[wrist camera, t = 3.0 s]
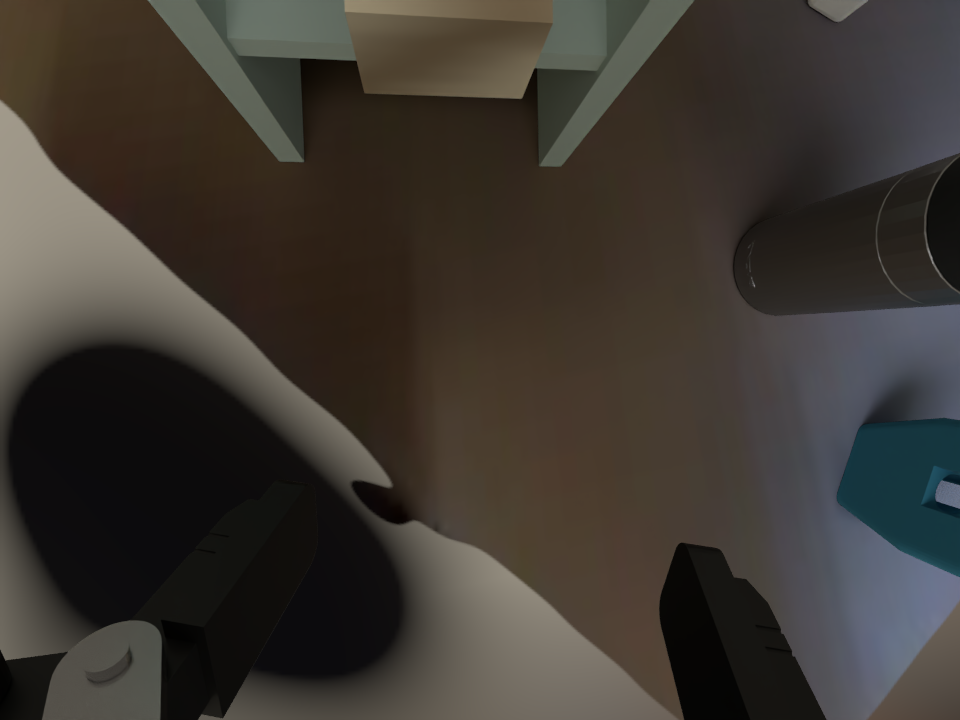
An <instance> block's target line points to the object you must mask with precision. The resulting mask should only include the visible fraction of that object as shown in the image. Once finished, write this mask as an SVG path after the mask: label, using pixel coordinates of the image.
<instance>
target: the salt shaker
mask: <svg viewBox="0 0 960 720" xmlns="http://www.w3.org/2000/svg"><path fill="white" fill-rule="evenodd" d="M867 1H869V0H808V4H809V6H810V7H812V8H813V9H815V10H816V11H818V12H820V13H821V14H823V15H825V16H826V17H828V18H829V19H831V20H833V21H834V22H840V21H842V20H843V19H845V18H846V17H847V16H849V15H850V14H851V13H853V12H854V11H855V10H857V9H858V8H859V7H861V6H862V5H863V4H865V3H866V2H867Z"/></svg>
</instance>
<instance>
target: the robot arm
mask: <svg viewBox="0 0 960 720" xmlns="http://www.w3.org/2000/svg"><path fill="white" fill-rule="evenodd" d="M734 272H735V279H736V282H737V286H738V288H739V290H740V292H741V294H742V296H743V297H744V298H745V299H746V301H747V302H748V303H749V304H750V305H751V306H753V307H754V308H755V309H757V310H759V311H761V312H763V313H765V314H770V315H774V316H777V315H797V314H817V313H833V312H849V311H865V310H881V309H897V308H913V307H929V306H941V305H957V304H960V153H959V154H956V155H953V156H950V157H947V158H944V159H942V160H939V161H936V162H933V163H930V164H927V165H924V166H921V167H919V168H916V169H913V170H910V171H907V172H904V173H901V174H899V175H896V176H893V177H890V178H887V179H884V180H881V181H878V182H875V183H872V184H869V185H866V186H863V187H861V188H858V189H855V190H852V191H849V192H846V193H843V194H840V195H837V196H834V197H831V198H828V199H825V200H823V201H820V202H817V203H814V204H811V205H808V206H805V207H802V208H799V209H796V210H793V211H790V212H787V213H784V214H781V215H778V216H776V217H773V218H770V219H767V220H765V221H762V222H760V223H758V224H757V225H755V226H754V227H753V228H751V229H750V230H749V231H748V232H747V234H746V235H745V236H744V237H743V239H742V241H741V242H740V244H739V246H738V249H737V252H736V255H735V263H734ZM317 542H318V528H317V513H316V498H315V489H314V486H313V485H311V484H306V483H300V482H293V481H287V480H277V481H275V482H274V483H273V485H272V486H271V487H270V488H269V489H268V490H267V492H266V493H265V494H264V495H263V496H262V498H261V499H260V500H259V501H258V500H251V499H249V500H247V501H245V502H244V503H242V504H241V505H239V506H238V507H236V508H234V509H233V510H231V511H229V512H228V513H227V514H225V515H224V516H223V518H222V519H221V520H220V521H219V522H218V523H217V524H216V525H215V527H214V528H213V529H212V530H211V531H210V532H209V535H208V537H205V538H204V539H203V540H202V541H201V542H200V543H199V544H198V546H197V547H196V548H195V551H194V553H190V555H189V556H188V557H187V558H186V559H185V560H184V561H183V562H182V564H181V565H180V566H179V567H178V568H177V569H176V570H175V571H174V573H173V574H172V575H171V576H170V577H169V578H168V579H167V580H166V582H165V583H164V584H163V585H162V586H161V587H160V588H159V589H158V591H157V592H156V593H155V594H154V595H153V596H152V597H151V598H150V600H149V601H148V602H147V603H146V604H145V605H144V606H143V607H142V608H141V610H140V611H139V612H138V613H137V614H136V615H135V616H134V617H133V618H132V619H131V620H130V621H125V622H120V623H116V624H112V625H110V626H107V627H105V628H103V629H100V630H98V631H97V632H94V633H93V634H91V635H90V636H88V637H86V638H85V639H83V640H82V641H81V642H79V643H78V644H77V645H75V646H74V647H73V648H72V649H71V650H70V651H69V652H65V653H58V654H50V655H43V656H35V657H28V658H21V659H13V660H6V661H5V659H4V657H3V654H2V653H1V650H0V720H198V719H199V717H200V716H201V714H204V715H209V716H214V717H219V718H223V717H224V716H225V714H226V712H227V710H228V709H229V707H230V705H231V703H232V702H233V700H234V698H235V696H236V695H237V693H238V691H239V689H240V688H241V686H242V684H243V682H244V680H245V679H246V677H247V675H248V674H249V672H250V670H251V668H252V667H253V665H254V663H255V661H256V660H257V658H258V656H259V654H260V652H261V651H262V649H263V647H264V646H265V644H266V642H267V640H268V639H269V637H270V635H271V633H272V632H273V630H274V628H275V626H276V625H277V623H278V621H279V619H280V618H281V616H282V614H283V612H284V611H285V609H286V607H287V605H288V604H289V602H290V600H291V598H292V597H293V595H294V593H295V591H296V589H297V588H298V586H299V584H300V583H301V581H302V579H303V577H304V576H305V574H306V572H307V570H308V568H309V567H310V565H311V563H312V561H313V558H314V555H315V552H316V548H317ZM659 614H660V624H661V628H662V632H663V636H664V640H665V644H666V648H667V652H668V656H669V660H670V664H671V668H672V672H673V676H674V680H675V685H676V689H677V693H678V697H679V701H680V705H681V709H682V713H683V717H684V720H826V718H825V716H824V714H823V712H822V710H821V708H820V706H819V704H818V702H817V700H816V698H815V696H814V694H813V692H812V690H811V688H810V686H809V684H808V682H807V680H806V678H805V676H804V674H803V672H802V670H801V668H800V666H799V664H798V662H797V660H796V658H795V657H793V656H792V650H791V648H790V646H789V644H788V642H787V640H786V638H785V636H784V634H781V628H780V626H779V624H778V622H777V620H776V618H775V616H774V614H773V612H772V610H771V608H770V606H769V604H768V603H767V601H766V600H765V599H764V598H763V597H762V596H761V595H760V594H759V593H758V592H757V591H756V589H755V588H754V587H753V586H752V585H751V584H750V583H749V582H748V581H747V580H746V579H741V578H734V577H733V575H732V572H731V570H730V568H729V566H728V564H727V561H726V559H725V557H724V555H723V553H722V552H721V550H719V549H718V548H713V547H706V546H700V545H693V544H687V543H680V544H679V545H678V546H677V548H676V550H675V553H674V556H673V559H672V562H671V565H670V568H669V571H668V574H667V577H666V580H665V583H664V586H663V589H662V592H661V597H660V605H659Z"/></svg>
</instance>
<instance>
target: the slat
mask: <svg viewBox="0 0 960 720" xmlns="http://www.w3.org/2000/svg"><path fill="white" fill-rule="evenodd" d="M344 4H345V15H346V19H347V23H348V27H349V31H350V36H351V40H352V44H353V48H354V52H355V56H356V60H357V65H358V69H359V73H360V77H361V81H362V85H363V89H364V93H368V94H397V95H426V96H455V97H483V98H512V99H522V97H523V95H524V92H525V90H526V87H527V85H528V83H529V80H530V78H531V75H532V73H533V70H534V68H535V66H536V63H537V61H538V58H539V56H540V53H541V51H542V49H543V46H544V44H545V41H546V39H547V36H548V34H549V32H550V29H551V27H552V24H553V0H344Z"/></svg>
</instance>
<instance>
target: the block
mask: <svg viewBox="0 0 960 720" xmlns="http://www.w3.org/2000/svg"><path fill="white" fill-rule="evenodd" d="M941 480H943V481H947V482H950V483H954V484H958V485H960V420H954V419H947V418H939V419H925V420H912V421H899V422H886V423H872V424H864V425H862V426H861V427H860V428H859V430H858V433H857V436H856V439H855V442H854V445H853V448H852V451H851V454H850V457H849V460H848V463H847V466H846V469H845V472H844V475H843V478H842V481H841V484H840V487H839V490H838V493H837V501H838V503H839V504H840V505H841V506H843V507H844V508H845V509H847V510H848V511H849V512H851V513H852V514H853V515H854V516H856V517H857V518H858V519H860V520H861V521H862V522H864V523H865V524H866V525H867V526H869V527H870V528H871V529H873V530H874V531H875V532H877V533H878V534H879V535H880V536H882V537H883V538H884V539H886V540H887V541H888V542H890V543H891V544H892V545H893V546H895V547H896V548H897V549H899V550H900V551H902V552H904V553H906V554H909V555H911V556H913V557H915V558H918V559H920V560H922V561H924V562H927V563H929V564H931V565H933V566H936V567H938V568H940V569H942V570H945V571H947V572H949V573H951V574H954V575H956V576H958V577H960V509H958V508H955V507H952V506H949V505H946V504H943V503H939V502H936V499H935V493H936V489H937V486H938V484H939V483H940V481H941Z"/></svg>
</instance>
